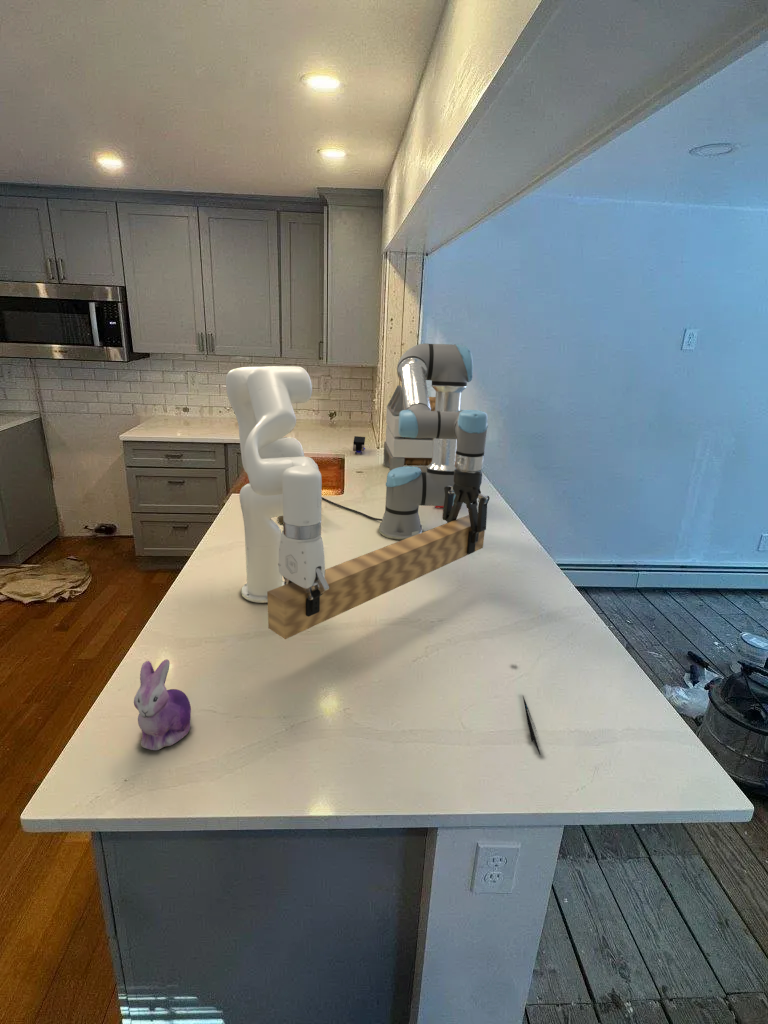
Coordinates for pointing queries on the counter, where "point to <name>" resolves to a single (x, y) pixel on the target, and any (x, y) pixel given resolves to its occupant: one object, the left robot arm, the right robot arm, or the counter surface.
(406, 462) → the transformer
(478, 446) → the right robot arm
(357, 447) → the figurine character
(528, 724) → the feather
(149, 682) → the figurine
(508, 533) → the counter surface
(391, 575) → the beam
